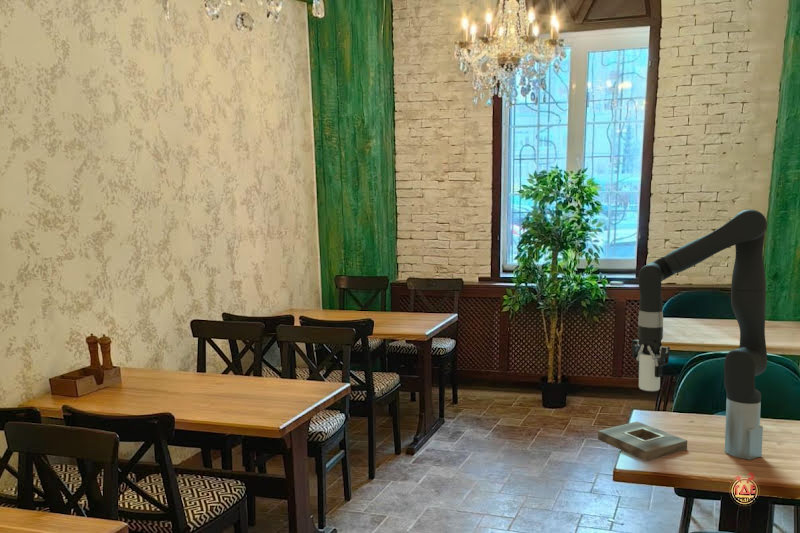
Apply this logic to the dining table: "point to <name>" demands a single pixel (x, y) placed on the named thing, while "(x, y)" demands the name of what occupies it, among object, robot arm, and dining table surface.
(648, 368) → the can
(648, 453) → the socket board
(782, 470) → the dining table surface
